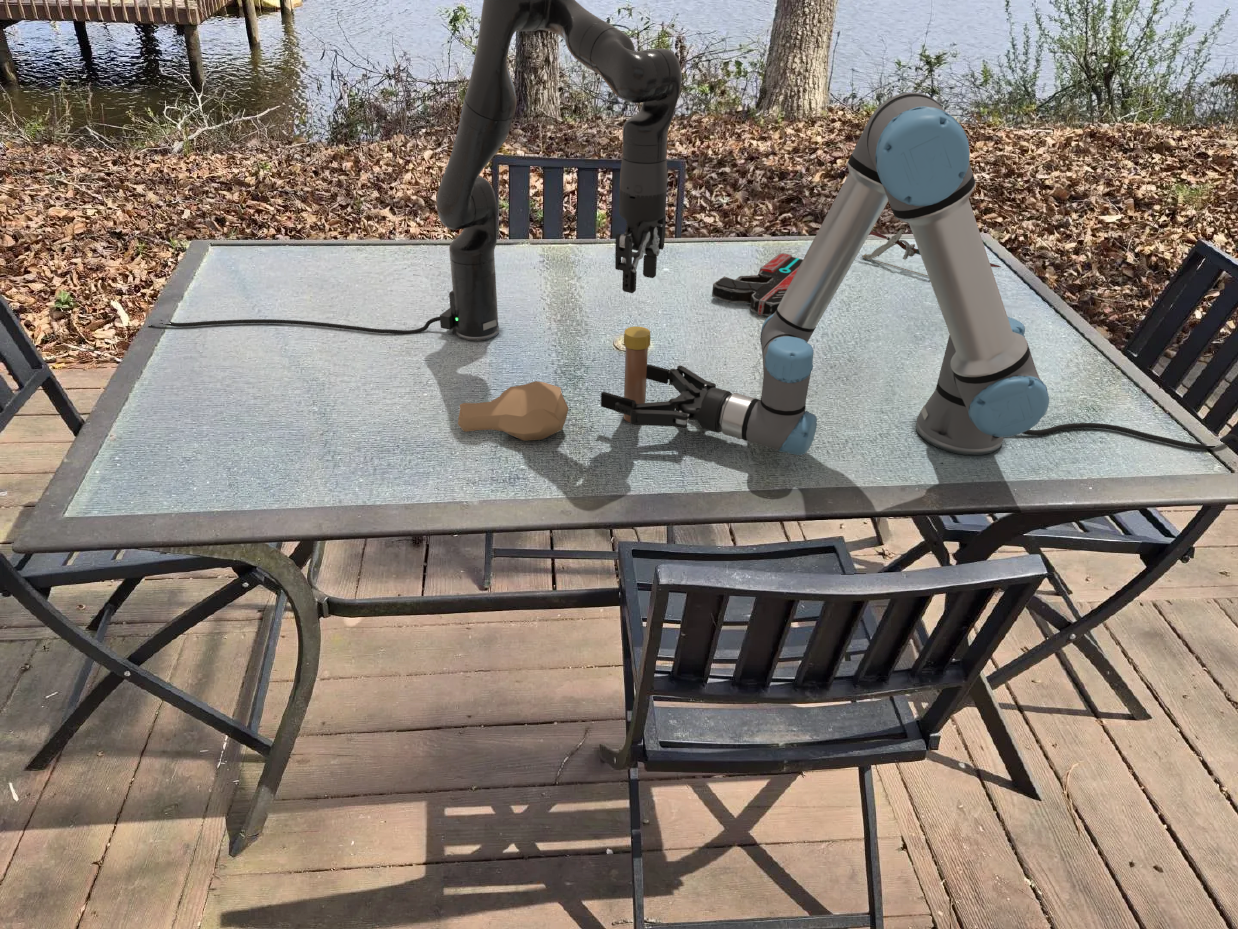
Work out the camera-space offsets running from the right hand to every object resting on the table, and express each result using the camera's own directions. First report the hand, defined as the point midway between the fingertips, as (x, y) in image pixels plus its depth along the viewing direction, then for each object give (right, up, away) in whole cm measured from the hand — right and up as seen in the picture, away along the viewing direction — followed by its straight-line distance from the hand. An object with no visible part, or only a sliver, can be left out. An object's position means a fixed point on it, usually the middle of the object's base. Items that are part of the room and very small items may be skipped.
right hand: (619, 383), depth 162 cm
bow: (+78, +34, +66) cm, 108 cm away
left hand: (+3, +16, -12) cm, 20 cm away
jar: (+3, -6, +2) cm, 7 cm away
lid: (+3, +8, -7) cm, 11 cm away
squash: (-19, -9, -3) cm, 21 cm away
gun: (+37, +28, +55) cm, 72 cm away
